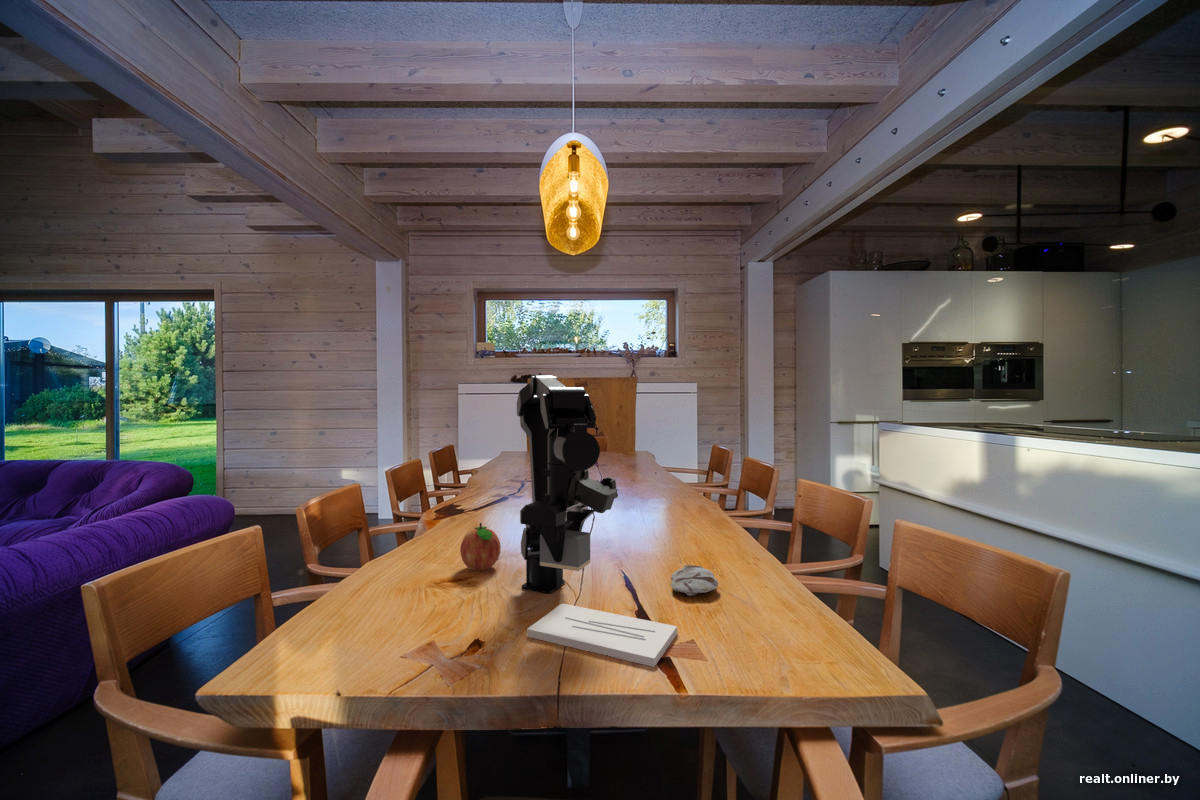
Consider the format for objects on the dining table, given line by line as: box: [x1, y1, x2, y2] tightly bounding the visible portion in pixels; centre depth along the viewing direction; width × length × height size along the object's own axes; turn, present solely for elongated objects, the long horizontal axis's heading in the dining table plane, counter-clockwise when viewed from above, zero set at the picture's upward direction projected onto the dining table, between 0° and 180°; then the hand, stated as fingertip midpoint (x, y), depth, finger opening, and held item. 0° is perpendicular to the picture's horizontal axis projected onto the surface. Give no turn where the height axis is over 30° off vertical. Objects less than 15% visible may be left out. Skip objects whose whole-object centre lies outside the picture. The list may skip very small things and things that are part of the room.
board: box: [526, 603, 678, 668], centre depth 80 cm, size 21×11×1 cm, turn 65°
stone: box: [670, 564, 719, 597], centre depth 100 cm, size 12×9×3 cm
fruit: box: [459, 522, 501, 571], centre depth 111 cm, size 9×10×10 cm
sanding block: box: [540, 530, 591, 572], centre depth 83 cm, size 7×4×5 cm, turn 66°
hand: (565, 557), depth 83 cm, fingers closed on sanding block, 4 cm apart
